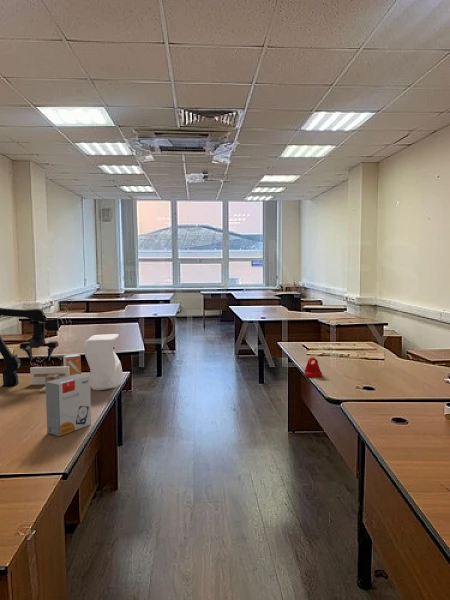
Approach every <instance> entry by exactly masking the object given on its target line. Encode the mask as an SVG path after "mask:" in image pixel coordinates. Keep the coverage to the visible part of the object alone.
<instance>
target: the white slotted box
mask: <svg viewBox="0 0 450 600" xmlns="http://www.w3.org/2000/svg"><path fill="white" fill-rule="evenodd" d="M29 369H30V385H31V386H33V385H44V386H43V387H42V388H40V389H39V391H38V392H46V386H45V383H46V380H45V377H47V376H48V375H49V374H59V379H60V378H64V377H67V376H70V372H69V366H64V365H63V366H36V367H34V366H33V367H32V366H31V367H29Z"/></svg>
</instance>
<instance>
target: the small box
mask: <svg viewBox="0 0 450 600" xmlns="http://www.w3.org/2000/svg"><path fill="white" fill-rule="evenodd" d="M62 357H63V366H69V372H70V376H71V375H75V374H81V375H82V363H81V360H82V359H81V355H80V354H79V353H74V354H67V355H63V356H62Z"/></svg>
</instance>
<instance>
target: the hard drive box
mask: <svg viewBox="0 0 450 600" xmlns="http://www.w3.org/2000/svg"><path fill="white" fill-rule="evenodd" d="M90 378H91V377H90V375H86V374H82V373H81V374H75V375H71V376H67V377H64V378H60V379H56V380H52V381H48V382H46V383H45V384H44V386H46V391H45V405H46V406H45V407H46V408H45V409H46V433H47V434H51V435H52V436H53V435H54V436H57V437H61V436H64V435H67V434H70V433H72V432H75V431H77V430H80V429H84V428H86V427H88V426H90V425H92V409H91V408H92V407H91V400H92V399H91V381H90ZM83 427H84V428H83Z"/></svg>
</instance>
